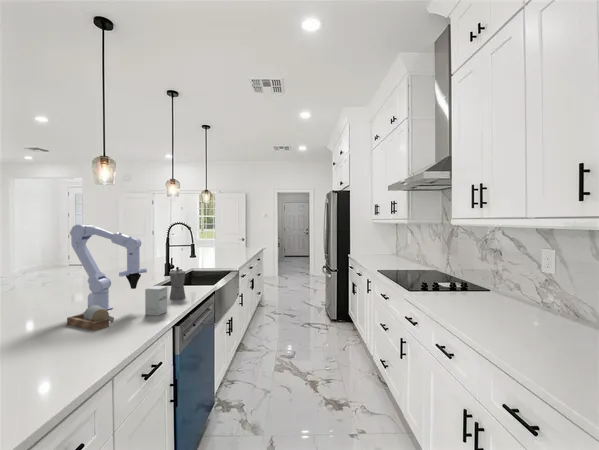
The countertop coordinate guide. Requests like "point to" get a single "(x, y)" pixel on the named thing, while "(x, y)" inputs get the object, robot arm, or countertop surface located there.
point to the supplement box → (156, 300)
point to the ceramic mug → (97, 314)
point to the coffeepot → (177, 284)
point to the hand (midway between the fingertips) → (133, 288)
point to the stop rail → (87, 322)
